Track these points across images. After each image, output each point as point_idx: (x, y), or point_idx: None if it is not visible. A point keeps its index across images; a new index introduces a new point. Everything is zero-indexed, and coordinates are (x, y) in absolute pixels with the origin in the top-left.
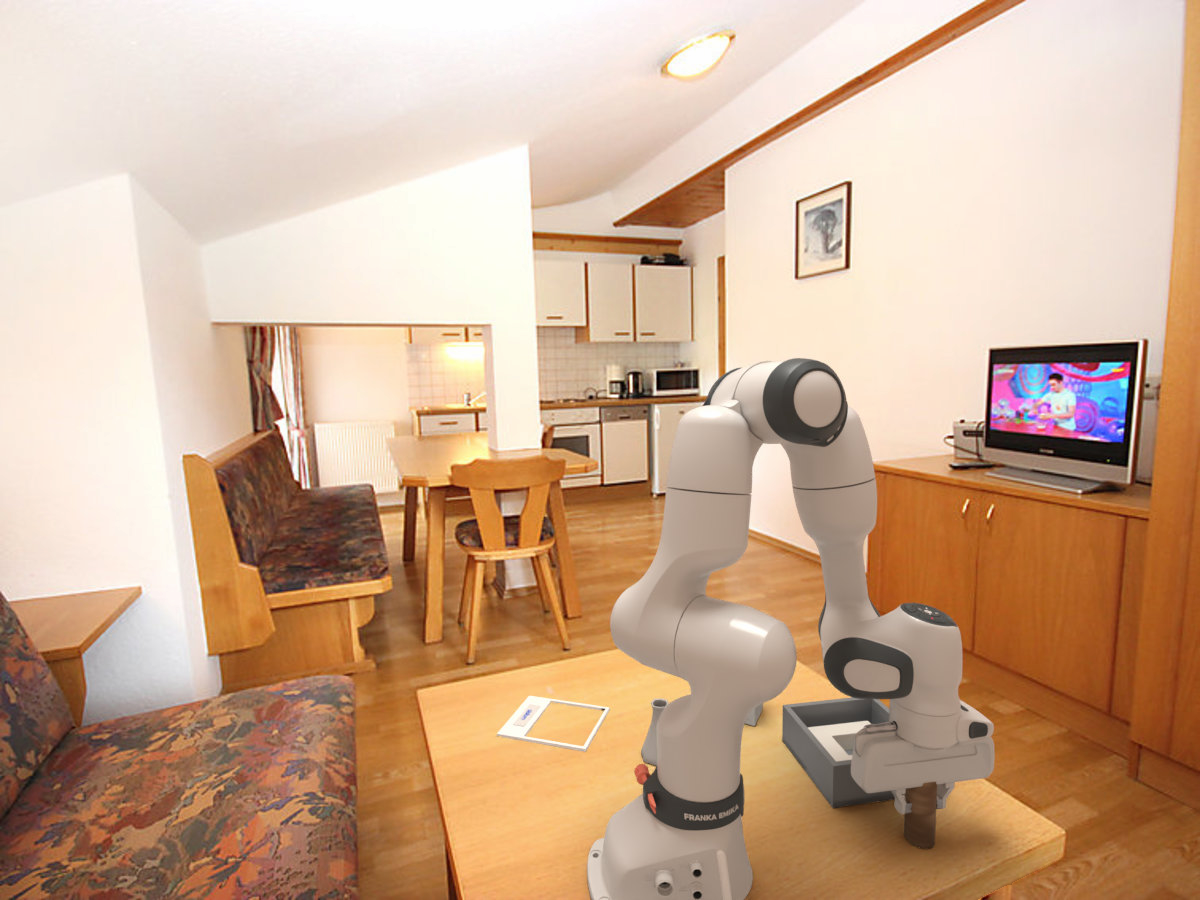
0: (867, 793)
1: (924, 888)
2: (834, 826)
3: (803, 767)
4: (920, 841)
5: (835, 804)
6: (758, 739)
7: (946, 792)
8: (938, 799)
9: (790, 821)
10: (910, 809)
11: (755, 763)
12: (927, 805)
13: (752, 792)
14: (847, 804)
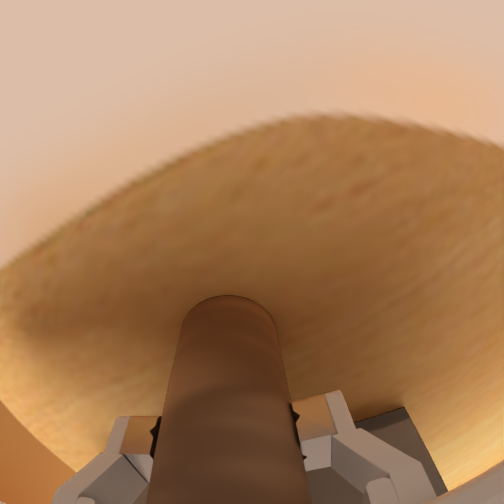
0: None
1: (323, 119)
2: (438, 355)
3: None
4: (246, 312)
5: (400, 415)
6: None
7: (96, 478)
8: (142, 455)
9: (499, 351)
10: (300, 413)
11: (448, 460)
12: (225, 435)
13: (498, 402)
14: (368, 421)
